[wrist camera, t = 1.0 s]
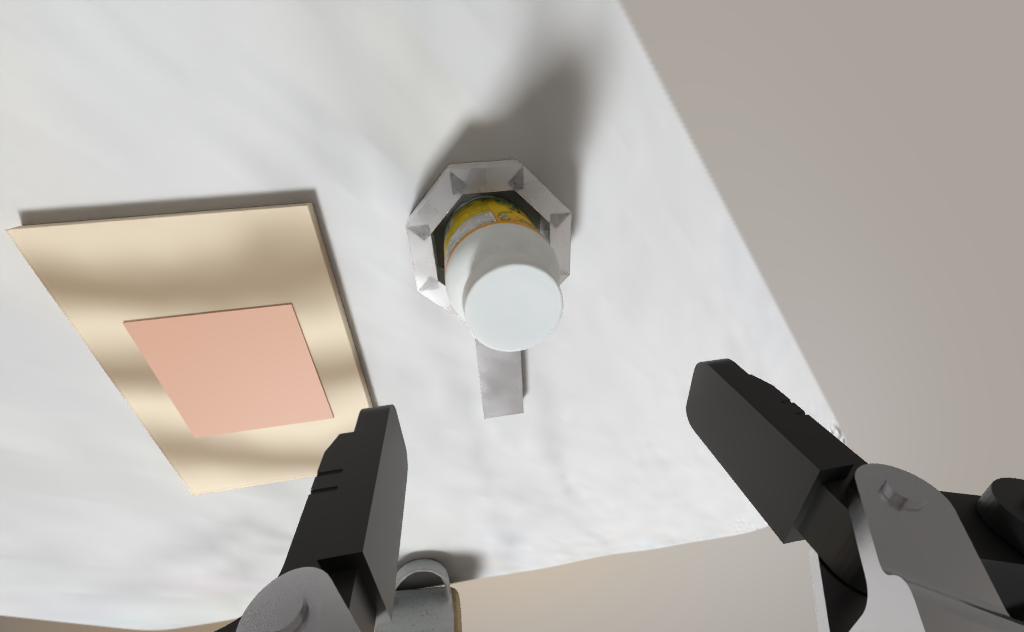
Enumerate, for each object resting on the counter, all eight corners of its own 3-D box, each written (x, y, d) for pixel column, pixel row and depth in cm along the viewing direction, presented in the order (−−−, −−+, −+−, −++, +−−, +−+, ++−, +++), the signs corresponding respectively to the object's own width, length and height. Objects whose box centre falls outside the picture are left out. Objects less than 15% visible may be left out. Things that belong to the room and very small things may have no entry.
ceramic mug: (458, 606, 43) (461, 697, 36) (383, 616, 41) (371, 713, 35) (461, 550, 38) (465, 644, 31) (376, 559, 36) (361, 660, 30)
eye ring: (400, 167, 20) (395, 173, 18) (559, 156, 22) (572, 161, 19) (445, 413, 29) (445, 437, 27) (556, 396, 30) (565, 418, 28)
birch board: (20, 225, 19) (2, 230, 18) (311, 202, 21) (306, 206, 20) (199, 486, 29) (192, 496, 28) (387, 456, 30) (386, 465, 29)
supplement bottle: (426, 225, 22) (415, 293, 14) (503, 175, 22) (541, 215, 13) (475, 294, 25) (491, 386, 16) (545, 251, 24) (600, 324, 16)
